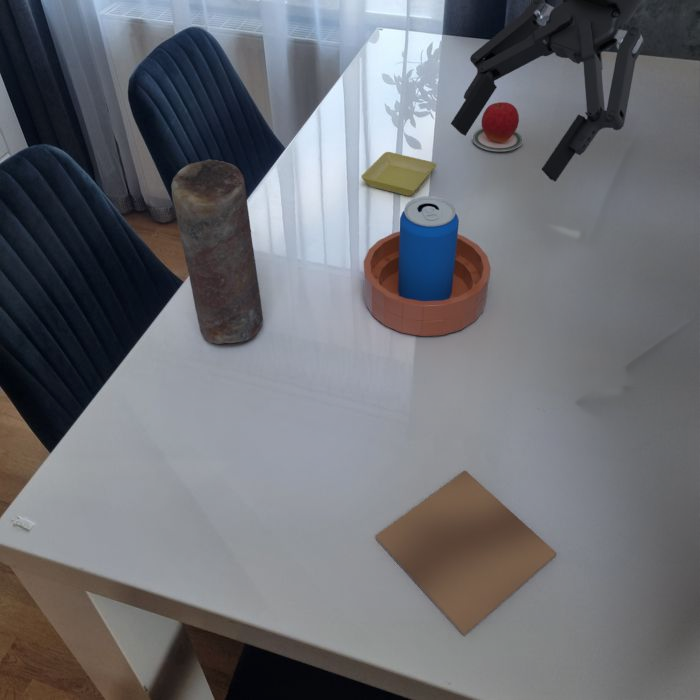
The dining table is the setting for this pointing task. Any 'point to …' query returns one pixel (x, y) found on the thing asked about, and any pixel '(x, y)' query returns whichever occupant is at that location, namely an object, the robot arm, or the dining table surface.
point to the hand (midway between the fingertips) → (500, 151)
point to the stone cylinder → (218, 250)
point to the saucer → (398, 173)
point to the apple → (499, 128)
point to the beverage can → (427, 249)
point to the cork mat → (465, 551)
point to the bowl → (425, 314)
